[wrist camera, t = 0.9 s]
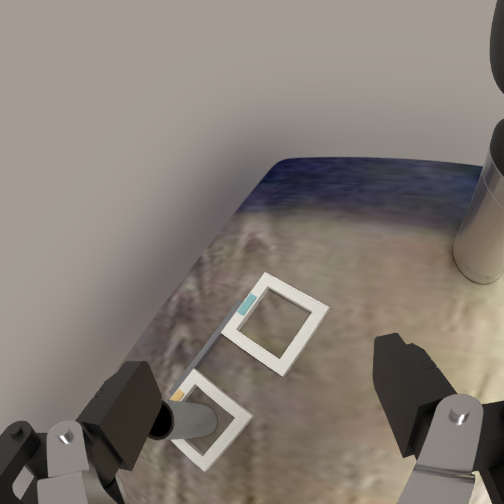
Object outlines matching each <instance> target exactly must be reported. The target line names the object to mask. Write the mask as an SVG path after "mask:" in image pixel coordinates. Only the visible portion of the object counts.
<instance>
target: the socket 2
mask: <svg viewBox="0 0 504 504" xmlns="http://www.w3.org/2000/svg"><path fill="white" fill-rule="evenodd" d="M269 289H270V290H272V291H274V292H275V293H277V294H279V295H281V296H282V297H284V298H286V299H288V300H289V301H291V302H293V303H295V304H296V305H298V306H300V307H302V308H303V309H305V310H307V311H309V312H311V314H310V316H309V317H308V319H307V320H306V322H305V323H304V325H303V326H302V328H301V329H300V331H299V332H298V334H297V335H296V337H295V338H294V340H293V341H292V343H291V344H290V345H289V347H288V348H287V350H286V351H285V353H284V354H283V355H282V357H281V358H280V359H278V358H277V357H275V356H274V355H272V354H271V353H269V352H268V351H266V350H265V349H263V348H262V347H260V346H259V345H257V344H256V343H255V342H253V341H252V340H250V339H249V338H247V337H246V336H244V335H243V334H242V333H240V332H239V330H240V329H241V328H242V326H243V325H244V323H245V322H246V321H247V319H248V318H249V317H250V315H251V314H252V312H253V311H254V310H255V308H256V307H257V306H258V304H259V303H260V301H261V300H262V299H263V297H264V296H265V294H266V293H267V292H268V290H269ZM329 310H330V309H329V307H328V306H326V305H325V304H323V303H321V302H319V301H317V300H315V299H313V298H312V297H310V296H308V295H306V294H304V293H302V292H301V291H299V290H297V289H295V288H293V287H291V286H290V285H288V284H286V283H284V282H282V281H280V280H279V279H277V278H275V277H273V276H271V275H269V274H268V273H266V272H265V273H264V274H263V276H262V277H261V278H260V280H259V281H258V283H257V284H256V285H255V287H254V288H253V289H252V291H251V292H250V294H249V295H248V296H247V298H246V299H245V300H244V302H243V303H242V304H241V306H240V307H239V308H238V310H237V311H236V313H235V314H234V315H233V317H232V318H231V319H230V321H229V322H228V323H227V325H226V326H225V327H224V329H223V330H222V331H221V333H222V334H223V335H224V336H226V337H227V338H228V339H230V340H231V341H233V342H234V343H235V344H237V345H238V346H239V347H241V348H242V349H244V350H245V351H246V352H248V353H249V354H251V355H252V356H253V357H255V358H256V359H258V360H259V361H261V362H262V363H264V364H265V365H266V366H268V367H269V368H271V369H272V370H274V371H275V372H277V373H278V374H280V375H281V376H283V377H285V375H286V374H287V372H288V371H289V370H290V368H291V367H292V365H293V364H294V363H295V361H296V360H297V358H298V357H299V355H300V354H301V353H302V351H303V350H304V348H305V347H306V345H307V344H308V342H309V341H310V339H311V338H312V336H313V335H314V333H315V332H316V330H317V329H318V327H319V326H320V324H321V323H322V321H323V319H324V318H325V316H326V315H327V313H328V312H329Z"/></svg>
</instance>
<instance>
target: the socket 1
mask: <svg viewBox="0 0 504 504" xmlns="http://www.w3.org/2000/svg"><path fill="white" fill-rule="evenodd" d="M197 386H198V387H199V388H200V389H201V390H202V391H203V392H205V393H206V394H207V395H208V396H209V397H210V398H212V399H213V400H214V401H215V402H216V403H218V404H219V405H220V406H221V407H222V408H224V409H225V410H226V411H227V412H229V413H230V414H231V415H232V416H234V417H235V419H234V420H233V421H232V422H231V424H230V425H229V426H228V427H227V428H226V430H225V431H224V432H223V433H222V434H221V436H220V437H219V438H218V439H217V440H216V442H215V443H214V444H213V445H212V446H211V447H210V449H209V450H208V451H207V452H206V453H205V454H203V453H202V452H201V451H200V450H199V449H198V448H197V447H195V446H194V445H193V444H192V443H191V442H190V441H189V440H188V439H176V440H171V441H172V442H173V443H174V444H175V445H176V446H177V447H178V448H179V449H180V450H181V451H182V452H183V453H184V454H185V455H186V456H188V457H189V458H190V459H191V460H192V461H193V462H194V463H195V464H196V465H197V466H199V467H200V468H201V469H202V470H203V471H204V472H205V471H208V470H209V469H210V468H211V467H212V465H213V464H214V463H215V462H216V461H217V460H218V459H219V458H220V457H221V455H222V454H223V453H224V452H225V451H226V450H227V449H228V447H229V446H230V445H231V444H232V443H233V442H234V440H235V439H236V438H237V437H238V436H239V434H240V433H241V432H242V431H243V430H244V428H245V427H246V426H247V425H248V424H249V422H250V421H251V420H252V419H253V417H254V415H253V414H252V413H250V412H249V411H248V410H246V409H245V408H244V407H242V406H241V405H240V404H239V403H237V402H236V401H235V400H233V399H232V398H231V397H230V396H228V395H227V394H226V393H225V392H223V391H222V390H221V389H220V388H218V387H217V386H216V385H215V384H214V383H212V382H211V381H210V380H209V379H208V378H206V377H205V376H204V375H203V374H202V373H201V372H199V371H198V370H197V369H194V368H193V370H192V371H191V372H190V374H189V375H188V376H187V378H186V379H185V380H184V382H183V383H182V384H181V385H180V387H179V388H178V389H177V391H176V392H175V393H174V395H173V396H172V397H171V398H170V400H174V401H181V402H185V401H186V400H187V399H188V397H189V396H190V395H191V394H192V392H193V391H194V390H195V388H196V387H197Z"/></svg>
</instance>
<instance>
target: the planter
mask: <svg viewBox="0 0 504 504" xmlns="http://www.w3.org/2000/svg"><path fill="white" fill-rule="evenodd" d="M217 422H218V421H217V416H216V413H215V412H214V410H213V409H212V408H211V407H209V406H207V405H204V404H197V403H189V402H181V401H174V400H167V399H162V405H161V409H160V411H159V413H158V415H157V417H156V419H155V422H154V424H153V426H152V428H151V430H150V432H149V434H148V437H149V438H150V439H153V440H176V439H188V438H198V437H205V436H208V435H210V434H212V433H213V432H214V431H215V429H216V427H217Z"/></svg>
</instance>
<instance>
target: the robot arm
mask: <svg viewBox="0 0 504 504" xmlns="http://www.w3.org/2000/svg"><path fill="white" fill-rule="evenodd" d="M490 63H491V69H492V73H493V77H494V79H495V81H496V84H497V85H498V87H499V88H500V90H501V91H502V92H503V94H504V0H497V3H496V8H495V12H494V17H493V22H492V28H491V36H490ZM453 256H454V259H455V262H456V264H457V266H458V268H459V269H460V270H461V272H462V273H463V274H464V275H465V276H466V277H467V278H469V279H470V280H472V281H474V282H476V283H480V284H490V283H492V282H494V281H496V280H497V279H498V278H499V277H500V276H501V275H502V274H503V273H504V119H503V120H501V121H500V122H499V123H498V124H497V125H496V127H495V129H494V132H493V135H492V139H491V143H490V147H489V150H488V153H487V157H486V160H485V163H484V166H483V169H482V172H481V175H480V178H479V181H478V184H477V186H476V189H475V192H474V194H473V197H472V200H471V202H470V205H469V207H468V209H467V212H466V214H465V216H464V219H463V221H462V223H461V225H460V228H459V230H458V232H457V234H456V236H455V239H454V242H453ZM373 383H374V387H375V390H376V393H377V395H378V397H379V400H380V402H381V404H382V407H383V409H384V412H385V414H386V416H387V419H388V421H389V424H390V426H391V429H392V431H393V434H394V436H395V439H396V441H397V444H398V446H399V449H400V452H401V454H402V457H403V458H405V457H408V456H411V455H415V458H416V460H417V462H416V464H415V467H414V469H413V471H412V473H411V475H410V478H409V480H408V482H407V484H406V486H405V488H404V490H403V492H402V494H401V496H400V498H399V500H398V501H397V503H396V504H468V503H469V500H470V497H471V494H472V491H473V487H474V483H475V475H474V474H472V472H473V471H478V470H479V473H480V475H481V477H482V480H483V482H484V484H485V487H486V489H487V492H488V494H489V497H490V499H491V502H492V504H504V401H499V402H494V403H488V404H481V403H480V402H479V401H478V400H477V399H476V398H474V397H472V396H470V395H466V394H457V392H456V391H455V390H454V388H453V387H452V386H451V384H450V383H449V382H448V380H447V379H446V377H445V376H444V375H443V374H442V372H441V371H440V370H439V368H437V367H436V364H435V363H434V362H433V360H431V358H430V357H429V355H428V354H427V353H426V352H425V350H424V349H422V348H420V347H419V346H417V345H415V344H413V343H411V344H407V345H406V344H405V342H404V341H403V340H402V338H401V337H400V336H399V334H398V333H392V334H388V335H383V336H379V337H376V338H375V341H374V359H373ZM161 405H162V396H161V393H160V390H159V388H158V385H157V383H156V381H155V378H154V376H153V373H152V371H151V368H150V366H149V364H148V363H147V362H146V361H126V362H125V363H124V364H123V366H122V367H121V368H120V369H119V371H118V372H117V373H116V374H114V375H113V376H111V377H110V378H109V379H107V380H106V381H105V382H104V384H103V385H102V386H101V388H100V391H97V393H96V394H95V396H94V398H92V399H91V401H90V402H89V403H88V405H87V406H86V407H85V409H84V410H83V411H82V413H81V414H80V415H79V417H78V418H77V419H76V421H71V420H70V421H69V420H68V421H63V422H60V423H58V424H56V425H55V426H53V427H52V428H51V429H50V431H49V432H48V433H36V432H35V431H34V429H33V428H32V427H31V425H30V424H29V423H28V422H26V421H17V422H14V423H13V424H11V425H10V426H8V427H7V428H6V430H5V431H4V432H3V433H2V434H1V436H0V504H129V502H128V499H127V497H126V494H125V491H124V489H123V486H122V483H121V480H120V478H119V476H118V475H117V474H116V473H117V471H118V469H119V468H120V469H124V470H129V471H132V469H133V467H134V465H135V463H136V461H137V458H138V456H139V454H140V452H141V450H142V447H143V445H144V443H145V441H146V439H147V437H148V434H149V432H150V430H151V428H152V426H153V424H154V422H155V419H156V417H157V415H158V413H159V411H160V409H161ZM24 466H25V467H26V468H27V469H28V470H29V472H31V474H32V475H33V476H34V478H33V480H32V482H31V483H30V485H29V487H28V488H27V490H26V492H25V493H24V495H23V497H22V498H21V500H20V499H19V498H17V497H16V496H15V494H14V492H13V489H12V485H13V482H14V481H15V479H16V478H17V476H18V475H19V473H20V471H21V470H22V468H23V467H24Z"/></svg>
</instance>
